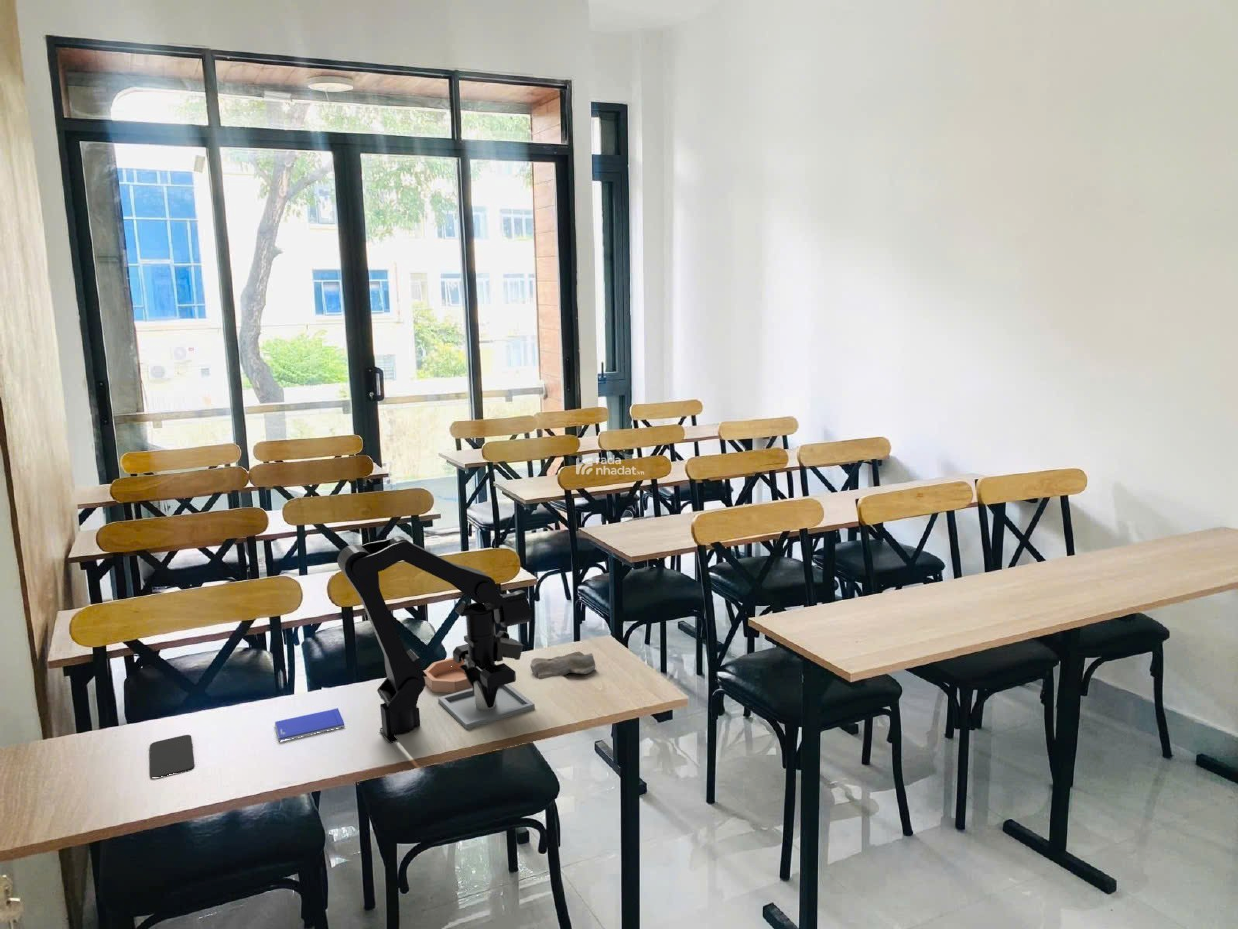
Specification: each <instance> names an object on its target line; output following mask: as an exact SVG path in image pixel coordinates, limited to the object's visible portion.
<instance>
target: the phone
mask: <svg viewBox="0 0 1238 929" xmlns="http://www.w3.org/2000/svg"><path fill="white" fill-rule="evenodd" d="M192 740H193V739H192V736H191V735H190V734H184V735H180V736H174V737H171V738H166V739H161V740H157V741H154V742H152V743H151V744H150V745H149V776H150V778H151V777H161V776H166V777H168V776H167V775H169V774H173V773H178V774H181V772H182V773H185V771H186V772H188V770H190V771H192V770H193V769H194V768H195V757H194V750H193V748H194V746H193V745H194V744H193V741H192Z"/></svg>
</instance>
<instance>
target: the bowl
mask: <svg viewBox="0 0 1238 929" xmlns="http://www.w3.org/2000/svg"><path fill="white" fill-rule="evenodd" d="M461 665H464V662H463V659H462V661H461V663H457V662H455V661H454V660H453V657H451V658H446V659H442V660H438V661H434V662H432V663H431V664H430V665H429V666H428V667H427V668H426V669H425V670H423V671H424V672H425V673H426V675H427V676H426V677H424V679H425V683H426V684H425V687H427V688H428V689H429V690H430V691H432V693H433V692H434V693H435V692H436V693H437V692H438V693H447V694H449V693H450V694H453V693H456V692H460V691H464V690H467V689H471V688H472V687H471V685H470V683H469V681H468V679H467V678H466V676H465V674H464V673H463V671H462V669H461V668H460V666H461ZM451 666H452V667H451Z"/></svg>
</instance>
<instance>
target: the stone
mask: <svg viewBox="0 0 1238 929" xmlns="http://www.w3.org/2000/svg"><path fill="white" fill-rule="evenodd" d="M529 666H530V670H531V672H532V674H533V675H534V676H535V677H537V679H544V678H548V677H553V676H557V675H560V676H562V677H564V676H566V675H568V674H569V673H574V674H580V675H586V674H589V673H591V672H592V671H594V670H595V669H596V661H595V659H594V654H593V653H587V654H584V653H582V652H581V651H574V652H571V653H567V654H564V655H561V656H559V655H558V656H555V657H553V658H552V657H551V658H543V657H536V658H532V659H531V662H530V665H529Z"/></svg>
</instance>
